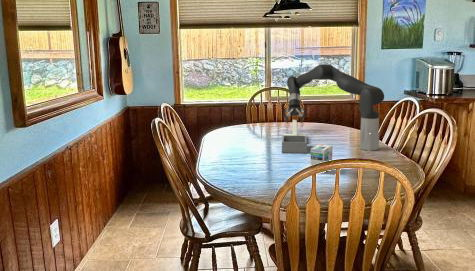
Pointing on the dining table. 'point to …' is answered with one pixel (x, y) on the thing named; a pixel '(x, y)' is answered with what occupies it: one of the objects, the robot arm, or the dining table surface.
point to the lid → (295, 129)
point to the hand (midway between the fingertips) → (294, 122)
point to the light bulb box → (321, 154)
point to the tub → (294, 144)
